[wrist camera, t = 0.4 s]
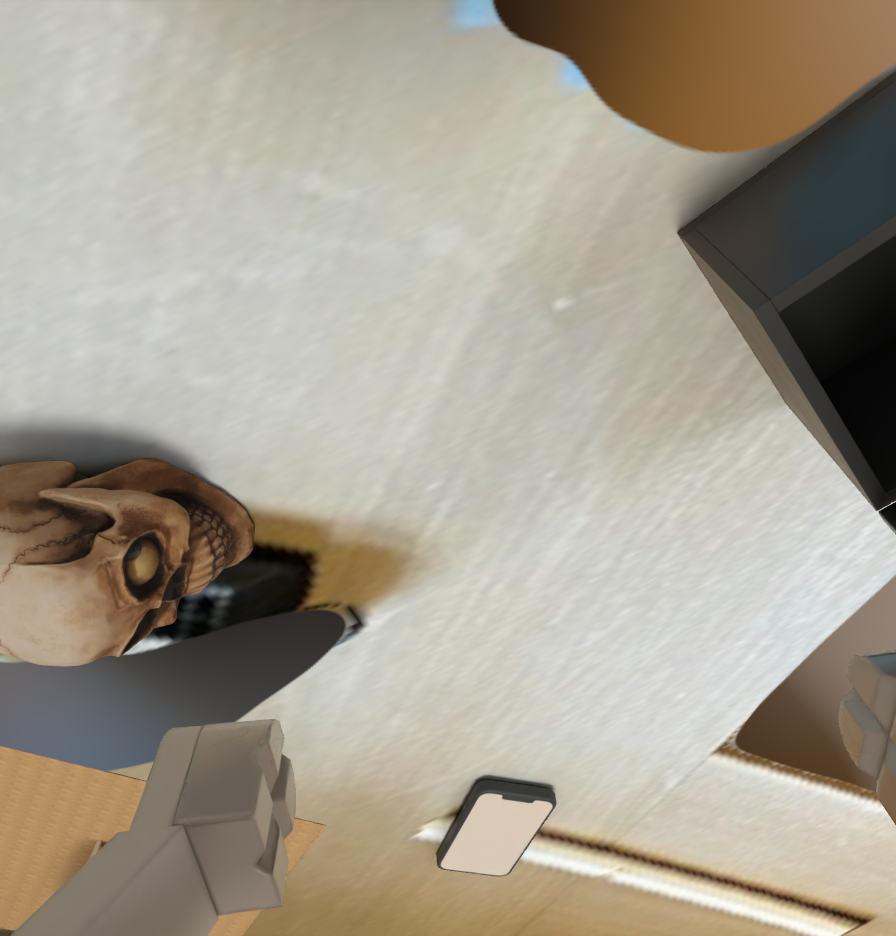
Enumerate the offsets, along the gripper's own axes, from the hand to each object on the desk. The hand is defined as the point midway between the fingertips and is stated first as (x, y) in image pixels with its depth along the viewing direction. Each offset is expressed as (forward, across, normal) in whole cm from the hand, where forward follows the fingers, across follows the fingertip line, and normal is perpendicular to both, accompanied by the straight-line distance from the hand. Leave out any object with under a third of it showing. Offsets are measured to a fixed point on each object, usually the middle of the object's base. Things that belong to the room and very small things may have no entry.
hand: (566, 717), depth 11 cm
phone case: (+46, 0, +64) cm, 79 cm away
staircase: (+48, +41, +67) cm, 92 cm away
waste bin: (+39, -25, +4) cm, 46 cm away
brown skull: (+42, +25, +19) cm, 52 cm away
